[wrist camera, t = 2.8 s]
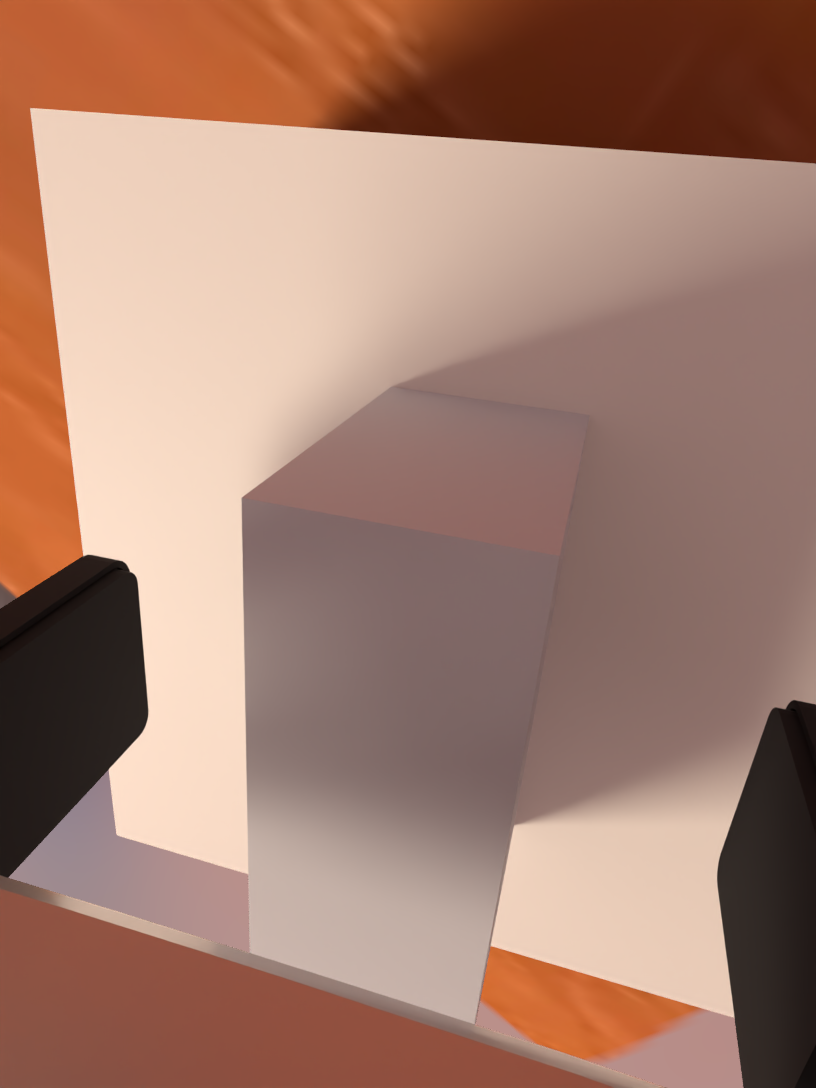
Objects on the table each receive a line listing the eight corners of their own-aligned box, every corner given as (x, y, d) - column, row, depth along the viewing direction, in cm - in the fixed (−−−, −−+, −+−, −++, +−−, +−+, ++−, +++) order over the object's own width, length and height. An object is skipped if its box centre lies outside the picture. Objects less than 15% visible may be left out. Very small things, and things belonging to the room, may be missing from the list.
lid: (1138, 191, 9) (1832, 170, 4) (783, 987, 15) (861, 1394, 10) (74, 115, 12) (-356, 46, 7) (141, 805, 19) (-56, 1044, 13)
